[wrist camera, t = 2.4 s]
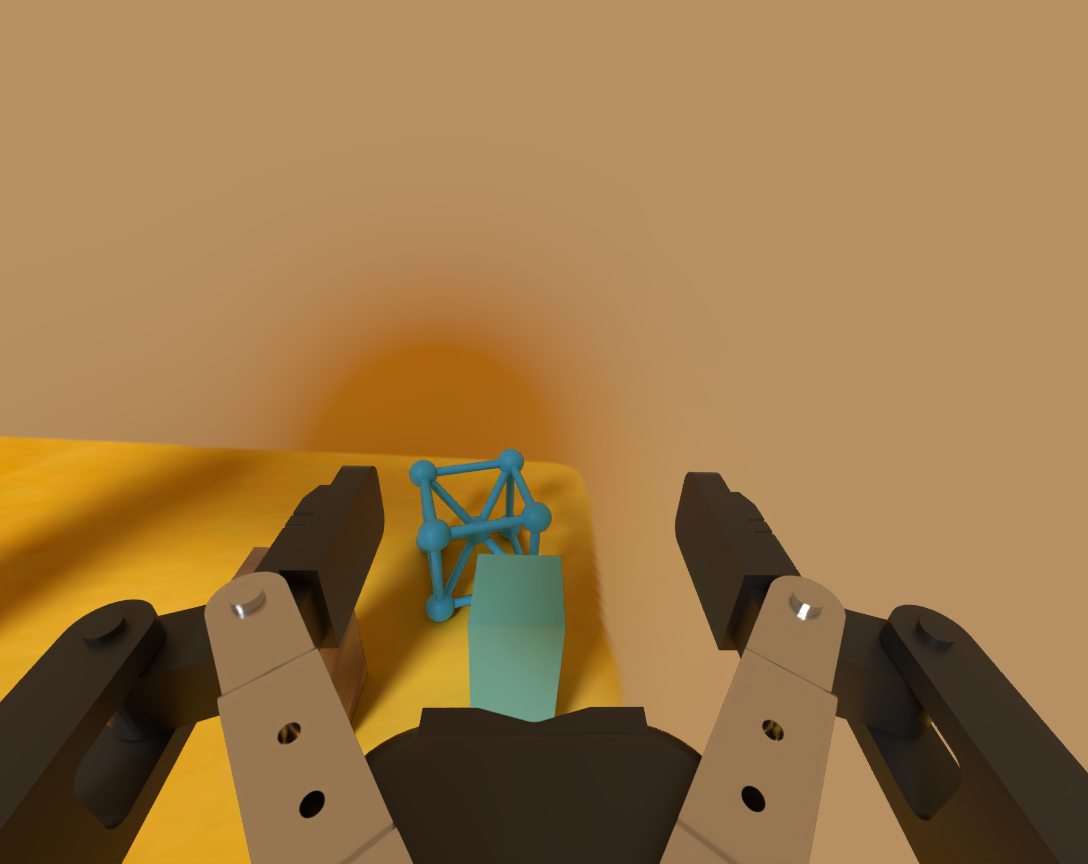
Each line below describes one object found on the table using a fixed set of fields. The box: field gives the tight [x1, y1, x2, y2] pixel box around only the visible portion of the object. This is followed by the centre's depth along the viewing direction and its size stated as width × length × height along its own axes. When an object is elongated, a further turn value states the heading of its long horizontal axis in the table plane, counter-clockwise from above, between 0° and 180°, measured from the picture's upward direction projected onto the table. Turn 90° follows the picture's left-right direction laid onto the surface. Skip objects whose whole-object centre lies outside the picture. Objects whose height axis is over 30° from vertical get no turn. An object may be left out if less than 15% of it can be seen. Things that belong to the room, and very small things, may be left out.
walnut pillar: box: [230, 547, 368, 724], centre depth 29 cm, size 5×5×12 cm
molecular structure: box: [409, 449, 551, 622], centre depth 40 cm, size 10×10×10 cm
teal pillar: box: [468, 554, 566, 722], centre depth 30 cm, size 5×5×12 cm
